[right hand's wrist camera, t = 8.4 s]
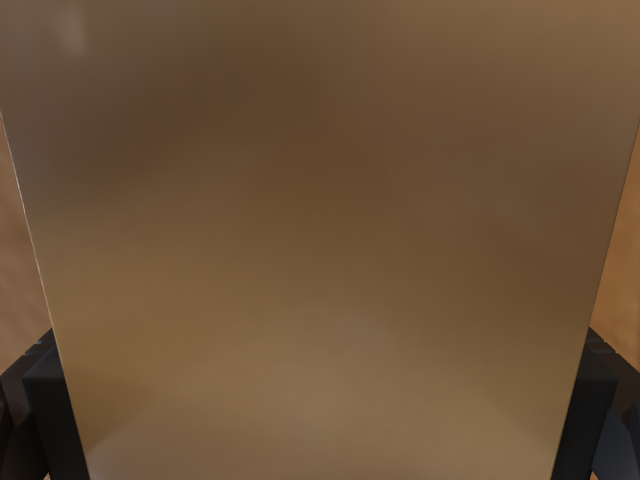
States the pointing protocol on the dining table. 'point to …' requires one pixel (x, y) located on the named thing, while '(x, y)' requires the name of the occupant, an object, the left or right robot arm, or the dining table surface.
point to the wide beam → (320, 225)
